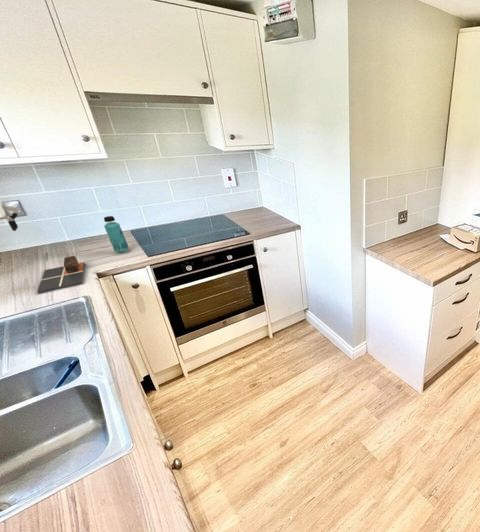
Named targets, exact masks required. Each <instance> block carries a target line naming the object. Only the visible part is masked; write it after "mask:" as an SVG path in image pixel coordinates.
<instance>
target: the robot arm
mask: <svg viewBox="0 0 480 532" xmlns="http://www.w3.org/2000/svg"><path fill="white" fill-rule="evenodd" d="M8 211H11V212H12V214H9V213H8ZM19 211H20V208H19V207H14V206H9V205H5V204H3V202H2V201H1V200H0V219H5V220H7V223H8V225H9V227H10V228H11V230H12V231H14V232H16V231H17V230H18V228H19V225H18V224H17V222H16V220H15V219H16V218H17V217H18V215H19Z"/></svg>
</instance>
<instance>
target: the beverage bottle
mask: <svg viewBox="0 0 480 532" xmlns="http://www.w3.org/2000/svg"><path fill="white" fill-rule="evenodd" d="M103 220H104V222H105V224H104V226H103V228H104V229H105V232H106V234H107V236H108V238H109V242H110V244H111V247H112V249H113V251H114V252H115V253H123V252H126V251H128V250H129V243H128V242H127V240H126V237H125V235H124V231H123V230H122V228H121V223H119V222H117V221H116V218H115V217H114V216H113V215H108V216H104V217H103Z"/></svg>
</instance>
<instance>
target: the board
mask: <svg viewBox="0 0 480 532" xmlns="http://www.w3.org/2000/svg"><path fill="white" fill-rule="evenodd" d="M78 263H79V270H78V271H77V272H72V273H67V271H66V269H65V267H64V265H63V266H58V267H53V268H48V269H44V272H43V274H42V276H41V279H40V282H39V286H38V288H37V291H36V292H37V294H42V293H48V292H52V291H57V290H62V289H66V288H70V287H71V288H72V287H74V286H79V285H83V283H84V276H85V270H86V269H85V268H86V263H85V262H84V261H82V262H78Z"/></svg>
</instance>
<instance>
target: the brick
mask: <svg viewBox="0 0 480 532" xmlns="http://www.w3.org/2000/svg"><path fill="white" fill-rule="evenodd" d="M63 260H64V261H63V266H64V267H65V269H66V271H67V273H72V272H77V271H78V270H79V263H80V262H79V260H78V259H77V257H76V255H71V256H66V257H64V259H63Z"/></svg>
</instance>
